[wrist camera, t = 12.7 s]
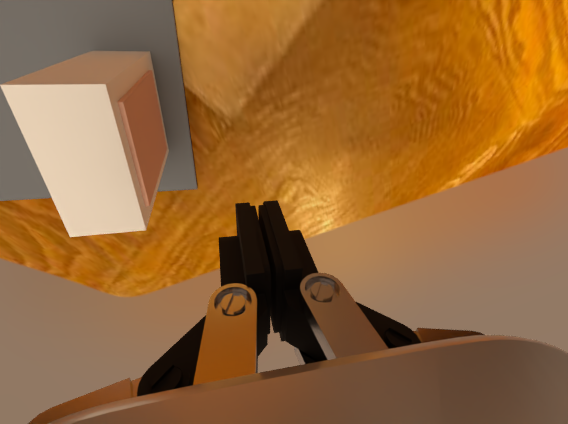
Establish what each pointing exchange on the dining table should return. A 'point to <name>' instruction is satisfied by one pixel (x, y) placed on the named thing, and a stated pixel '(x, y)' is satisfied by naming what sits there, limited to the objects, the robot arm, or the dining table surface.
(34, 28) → the mat
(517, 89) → the dining table surface
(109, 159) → the slab
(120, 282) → the dining table surface
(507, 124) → the dining table surface
